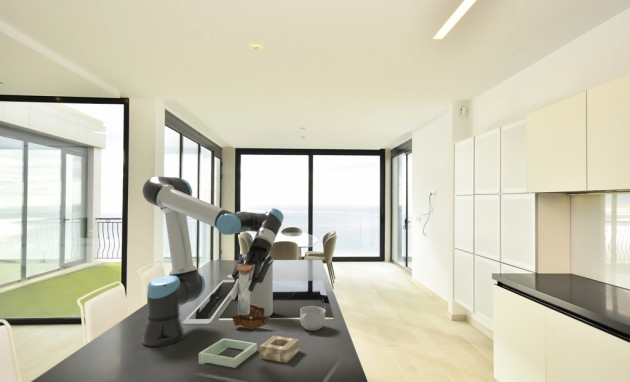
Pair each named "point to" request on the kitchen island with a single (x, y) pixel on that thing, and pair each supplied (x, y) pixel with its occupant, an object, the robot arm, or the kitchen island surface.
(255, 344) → the tray
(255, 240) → the robot arm
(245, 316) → the wooden carving
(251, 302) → the cylinder vase
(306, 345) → the kitchen island surface
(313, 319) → the teacup
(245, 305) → the pin
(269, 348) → the block
